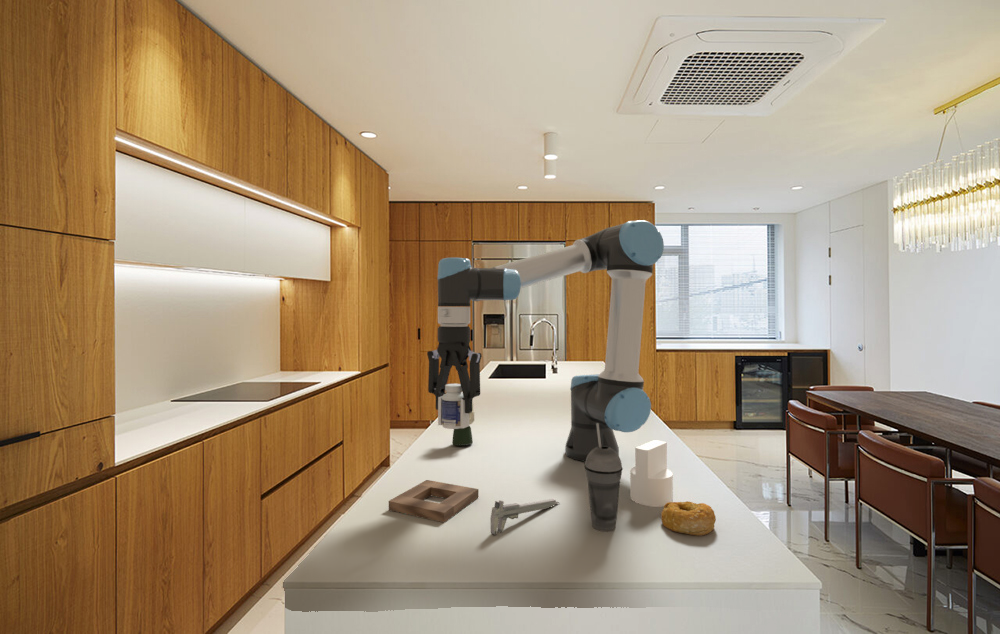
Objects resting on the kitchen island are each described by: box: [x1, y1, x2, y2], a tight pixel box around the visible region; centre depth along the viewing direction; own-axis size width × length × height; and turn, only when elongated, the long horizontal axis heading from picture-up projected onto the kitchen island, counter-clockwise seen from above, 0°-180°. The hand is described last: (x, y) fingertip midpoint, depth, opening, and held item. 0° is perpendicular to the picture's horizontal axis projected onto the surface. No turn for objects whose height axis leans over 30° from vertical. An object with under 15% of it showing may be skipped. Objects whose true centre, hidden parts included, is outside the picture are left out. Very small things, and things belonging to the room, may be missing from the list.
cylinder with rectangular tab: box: [629, 439, 674, 508], centre depth 110 cm, size 9×9×12 cm
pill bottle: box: [441, 383, 464, 430], centre depth 115 cm, size 5×5×10 cm
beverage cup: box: [584, 423, 624, 532], centre depth 97 cm, size 7×7×20 cm
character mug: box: [451, 401, 475, 447], centre depth 154 cm, size 11×7×13 cm, turn 44°
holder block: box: [388, 479, 479, 523], centre depth 109 cm, size 14×14×2 cm
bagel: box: [660, 501, 717, 537], centre depth 97 cm, size 10×11×5 cm
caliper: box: [490, 498, 560, 536], centre depth 101 cm, size 20×1×6 cm, turn 137°
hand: (453, 425), depth 115 cm, fingers closed on pill bottle, 5 cm apart
